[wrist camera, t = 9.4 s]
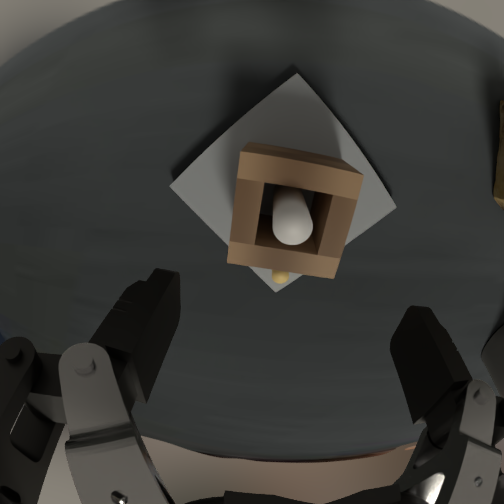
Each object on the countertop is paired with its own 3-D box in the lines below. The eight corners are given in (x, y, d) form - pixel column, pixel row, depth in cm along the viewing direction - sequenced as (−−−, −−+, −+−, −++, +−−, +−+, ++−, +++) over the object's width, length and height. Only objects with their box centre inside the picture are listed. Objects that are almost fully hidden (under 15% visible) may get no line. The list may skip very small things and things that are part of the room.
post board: (391, 202, 20) (434, 242, 13) (275, 285, 24) (275, 345, 18) (296, 75, 16) (308, 54, 10) (173, 182, 20) (133, 216, 14)
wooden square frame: (341, 159, 17) (364, 175, 13) (321, 241, 21) (333, 278, 16) (248, 141, 17) (240, 151, 13) (237, 228, 20) (227, 262, 16)
